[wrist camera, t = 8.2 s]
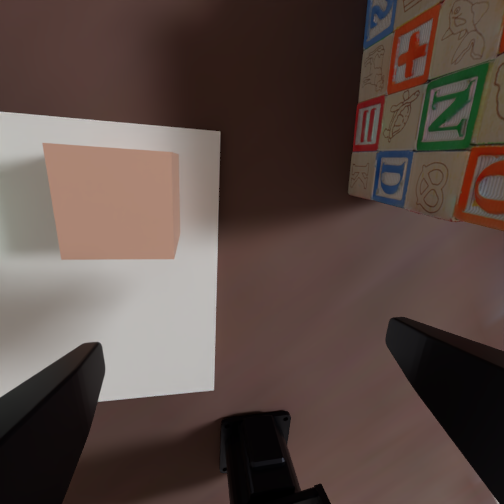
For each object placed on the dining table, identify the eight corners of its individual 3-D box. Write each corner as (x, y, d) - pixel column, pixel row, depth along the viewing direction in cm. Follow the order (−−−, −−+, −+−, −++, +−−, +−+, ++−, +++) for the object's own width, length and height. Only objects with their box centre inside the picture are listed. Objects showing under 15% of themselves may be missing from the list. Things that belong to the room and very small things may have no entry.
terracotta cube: (180, 233, 18) (174, 259, 13) (98, 232, 17) (61, 259, 12) (178, 154, 17) (171, 151, 12) (88, 148, 16) (42, 142, 11)
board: (213, 384, 23) (214, 390, 23) (-140, 418, 19) (-151, 426, 18) (219, 132, 17) (220, 131, 17) (-307, 85, 12) (-331, 82, 12)
